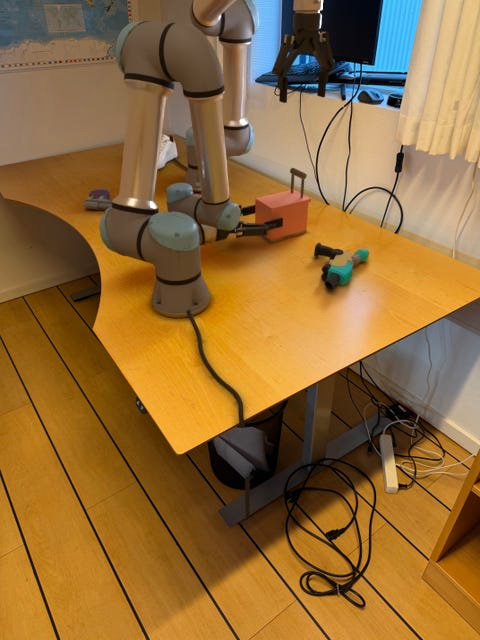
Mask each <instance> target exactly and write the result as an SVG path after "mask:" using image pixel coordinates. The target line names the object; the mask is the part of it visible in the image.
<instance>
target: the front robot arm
mask: <svg viewBox="0 0 480 640" xmlns="http://www.w3.org/2000/svg"><path fill="white" fill-rule="evenodd" d="M115 60H116V62H117V63H118V64H117V67H118V68H119V71H120V72H121V73H122V74H123V83H124V85H125V86H126V87H127V90H128V92H129V93H128V104H127V113H126V124H125V132H124V142H123V153H122V160H121V161H122V163H121V164H122V165H121V173H120V181H119V182H120V183H119V190H118V191H119V194H118V195H117V196H115V198H113V199H111V201H112V207H110V208H108V209H107V210H104V212H103V213H104V214H102V215H101V218H100V219H99V236H100V239H101V241H102V244H104V245H105V246H106V248H107V249H108V250H109V251H111V252H113V253H116V254H118V255H120V256H122V257H128V258H132V259H135V260H138V261H141V262H144V263H149V264H150V265H152V266H153V268H154V274H155V275H154V276H155V281H154V284H153V290H152V294H151V305H152V308H153V310H154V311H155V312H156V313H157V314H159V315H160V316H163V317H167V318H171V319H183V318H185V319H186V318H188V319H189V321H190V323H191V326H193V330H194V332H195V335H196V338H197V346H198V352H199V355H200V358H201V360H202V362H203V364H204V366H205V367H206V369H207V370H208V372H209V373H210V374H211V376H212V377H213V378H214V379H215V380H216V382H218V383H219V384H220V385H221V386H222V387H223V388H225V389H226V390H227V391H228V392H229V393H230V394H231V395H232V396H233V397H234V398H235V400H236V403H237V407H238V411H237V412H238V421H239V427H240V428H241V429H244V428H245V427H246V424H245V417H244V416H245V415H244V403H243V400H242V398H241V396H240V395H239V393H238V392H237V390H235V389H234V387H232V386H231V385H229V384H228V382H226V381H225V380H223V378H222V377H220V375H219V374H218V373H217V372H216V371H215V370H214V368H213V366H212V364H210V362H209V360H208V359H207V356H206V354H205V352H204V348H203V339H202V334H201V332H200V329H199V327H198V325H197V323H196V320H195V318H194V316H196V315H199V314H201V313H202V312H204V311H205V310H207V308H208V307H209V306H210V303H211V294H210V290H209V288H208V286H207V284H206V281H205V278H204V277H203V275H202V262H201V261H202V259H201V247H202V246H206V245H208V244H211V243H215V242H220V241H223V240H226V239H228V237H229V235H232V234H233V235H234V234H235V238H237V239H239V238H244V237H245V238H246V237H262V236H265V235H268V230H272V229H275V228H279V227H283V218H278V219H275V220H271V221H267V222H264V224H258V223H255V222H245V221H244V220H241V217H246V216H251V215H255V204H252V205H248V206H243V205H241V204H237V203H235V202H233V201H231V196H230V195H231V194H230V185H229V184H230V182H229V171H228V161H227V160H228V159H227V157H226V149H225V137H224V126H223V102H222V97H223V94H224V92H225V87H224V77H223V67H222V65H221V62H220V59H219V56H218V54H217V52H216V50H215V48H214V46H213V44H212V42H210V40H209V39H208V36H206V35H204V34H203V33H202V32H201V31H200V30H199V29H197V28H196V27H195V26H194V25H193V24H192V23H187V22H181V21H179V22H168V21H153V20H141V21H132V22H130V23H128V24H127V25H126V26H124V27H123V28H122V29H121V31H120V33H119V34H118V36H117V40H116V42H115ZM176 83H180V85H181V88H182V94H183V97H184V98H185V99H186V100H187V101H188V107H189V111H190V112H189V114H190V121H191V127H192V129H193V136H194V143H195V151H196V158H197V165H198V172H199V180H200V187H201V193H200V195H197V194H194V192H193V189H192V186H191V185H189V184H187V183H185V182H176V183H172V184H171V185H168V186H167V188H166V190H165V194H166V195H165V196H166V202H165V203H166V208H167V210H166V211H160V207H159V206H158V205H157V203H156V202H155V195H156V185H157V177H158V170H159V169H158V161H159V153H160V145H161V137H162V134H163V129H164V128H163V127H164V120H165V112H166V103H167V99H168V98H169V97H170V96H172V94H174V90H175V84H176ZM159 211H160V212H159ZM250 477H251V476H244V488H245V489H244V509H245V510H244V511H245V513H244V514H245V518H247V519H248V518H250V516H251V513H250V512H251V511H250V509H251V508H250V504H251V502H250V501H251V499H250V497H251V496H250V495H251V489H250V488H251V478H250Z"/></svg>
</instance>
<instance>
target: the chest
mask: <svg viewBox="0 0 480 640" xmlns="http://www.w3.org/2000/svg"><path fill="white" fill-rule="evenodd" d="M254 203H255V204H254V205H255V214H254V223H258V224H264V222H267V221H271V220H275V219H278V218H283V227H279V228H275V229H272V230H268V235H265V236H261V237H262V238H263V239H265V240H266V241H268V242H269V243H274V242H278V241H281V240H285V239H289V238H291V237H292V238H293V237H296V236H299V235H302V234H306V233H307V226H308V215H309V214H308V212H309V202H308V203H304V204H300V205H296V206H292V207H288V208H284V209H280V210H276V211H270V210H268V209H267V208H265V207H264V206H262V205H260V204H259V203H257V202H256V201H255V202H254Z"/></svg>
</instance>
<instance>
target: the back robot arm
mask: <svg viewBox="0 0 480 640" xmlns="http://www.w3.org/2000/svg"><path fill="white" fill-rule="evenodd" d="M323 3H324V0H293V9H292V10H293V11H294V13H293V14H292V30H293V34H292V35H291V34H283V36H282V42H281V46H280V48H279V51H278V53H277V56H276V59H275V61H274V64H273V67H272V69H271V74H272V75H275V76H276V77H277V90H278V91H279V96H278V97H279V98H278V99H279V100H278V101H279V102H280V103H283V104H287V103H288V84H289V77H288V76H287V74H288V72H289V71H290V69H291V67H292V66H293V65H294V63H295V61H296V60H297V58H298V56H300V55H301V54H306V53H311V54H312V55H313V57H314V60H316V62H317V64H318V66H319V67H320V69H321V70H320V71H318V81H317V82H318V83H317V93H316V94H317V97H319V98H326V91H327V89H326V88H327V84H328V83H329V75H330V73H331V72H332V71H333V70H335V68H336V63H335V59H334V55H333V51H332V48H331V44H330V33H329V32H328V31H320V30H321V28H322V18H323V14H322V13H321V12H320V11H323ZM259 16H260V15H259V10H258V7H257V4H256V2H255V0H192V1H191V2H190V5H189V18H190V21H191V25H193V26H195V27H196V28H197V29H199V30H200V31H201V32H202V33H203V34H204V35H205V36H206V37H210V38H213V37H218V43H220V45H221V46H222V73H223V77H224V87H225V92H224V94H223V95H222V115H223V126H224V137H225V149H226V158H231V157H232V158H233V157H241V156H243V155H247V154H248V153H250V152H251V150H252V148H253V146H254V142H255V133H254V128H253V125H252V124H251V123H250V121H249V119H248V118H247V117H246V92H247V91H246V90H247V60H248V59H247V58H248V46H250V44H251V43H252V41H253V40H252V39H253V36H254V35H256V34H257V32H259V31H258V29H259V26H260V17H259ZM318 43H319V44H320V45H319V44H318ZM292 44H293V45H292ZM185 147H186V158H187V159H186V160H187V166H185V165H184V164H183V163H181V162H180V161H179V160H178V159H177V157H176V158H174V159H173V160H174V161H175V162H176V164H178V165H179V166H181V168H184V169H185V170H186V174H185V179H184V183H187V184H189V185H191V186H192V189H193V193H200V194H201V187H200V180H199V172H198V165H197V158H196V151H195V143H194V136H193V129H192V126H190V127H189V128H187V130H186V131H185Z"/></svg>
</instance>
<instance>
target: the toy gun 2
mask: <svg viewBox="0 0 480 640" xmlns="http://www.w3.org/2000/svg"><path fill="white" fill-rule="evenodd" d="M313 256H314V257H315V258H318V257H319V256H320V257H327V258H329V261H328V262H326V263H324V265H323V266H322V267H321V271H322V273H321V275H320V278H321V280H322V281H324V287H325V289H327V291H329V292H333V291H334V290H335V288H337V287H338V286H339V285H341V286H343V285H344V286H345V285H346V284H347V283H349V282H350V281H351V280H352V278H353V275H354V271H353V267H355V266H357V265H359V263H364V262H365V261H367V259H368V258H369V257H370V250H369V249H367V248H358V249H357V250H355V252H354V254H352V252H351V251H350V250H347V249H342V248H341V249H340V248H333V247H331V246H327V245H323V244H322V243H321V242H317V243H316V244H315V245H314V252H313Z"/></svg>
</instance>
